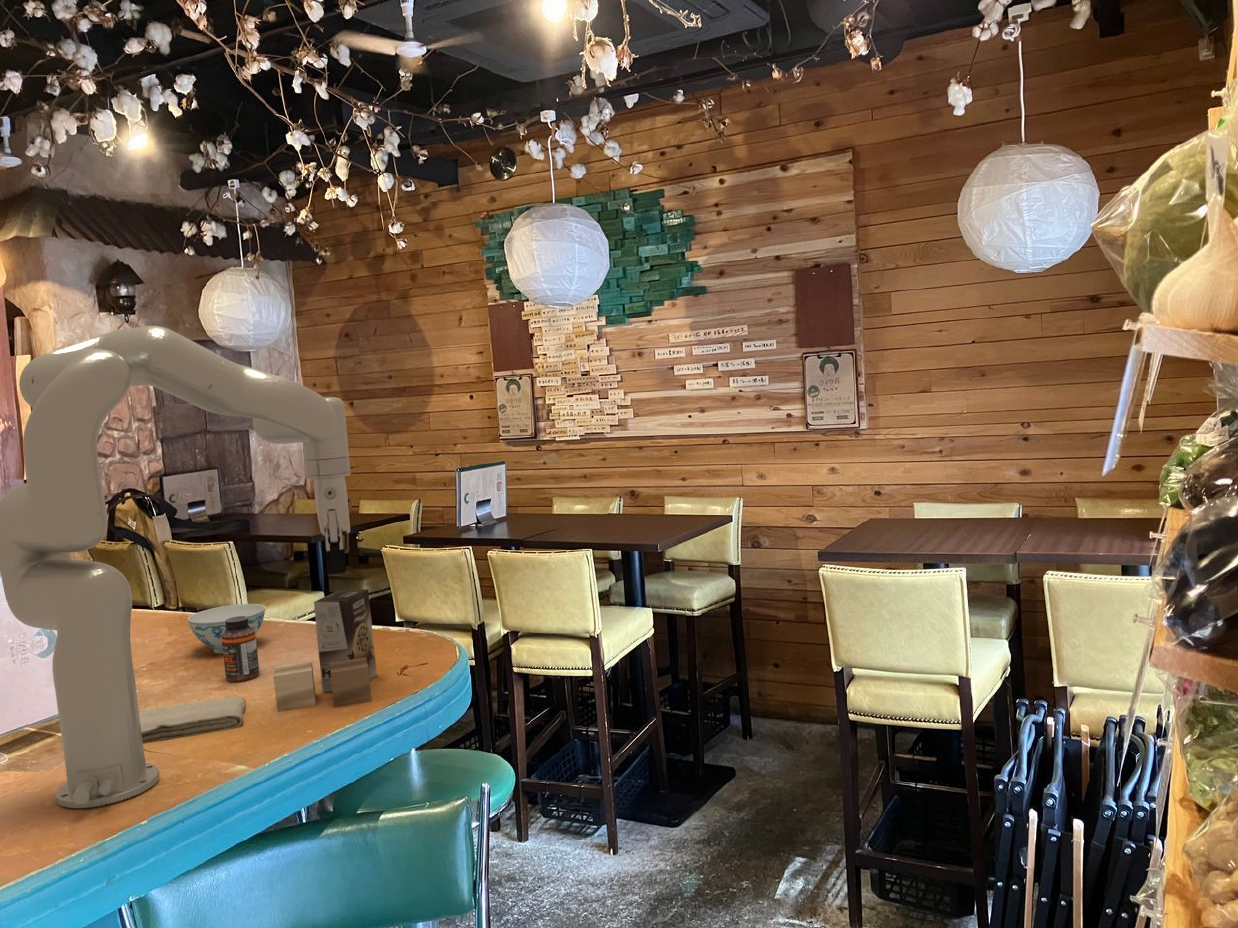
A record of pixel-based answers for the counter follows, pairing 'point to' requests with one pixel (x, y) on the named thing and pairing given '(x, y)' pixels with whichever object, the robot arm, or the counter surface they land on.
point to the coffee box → (344, 631)
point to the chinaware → (223, 622)
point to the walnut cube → (350, 682)
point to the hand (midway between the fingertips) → (337, 572)
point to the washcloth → (191, 718)
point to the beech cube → (294, 685)
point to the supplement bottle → (239, 650)
